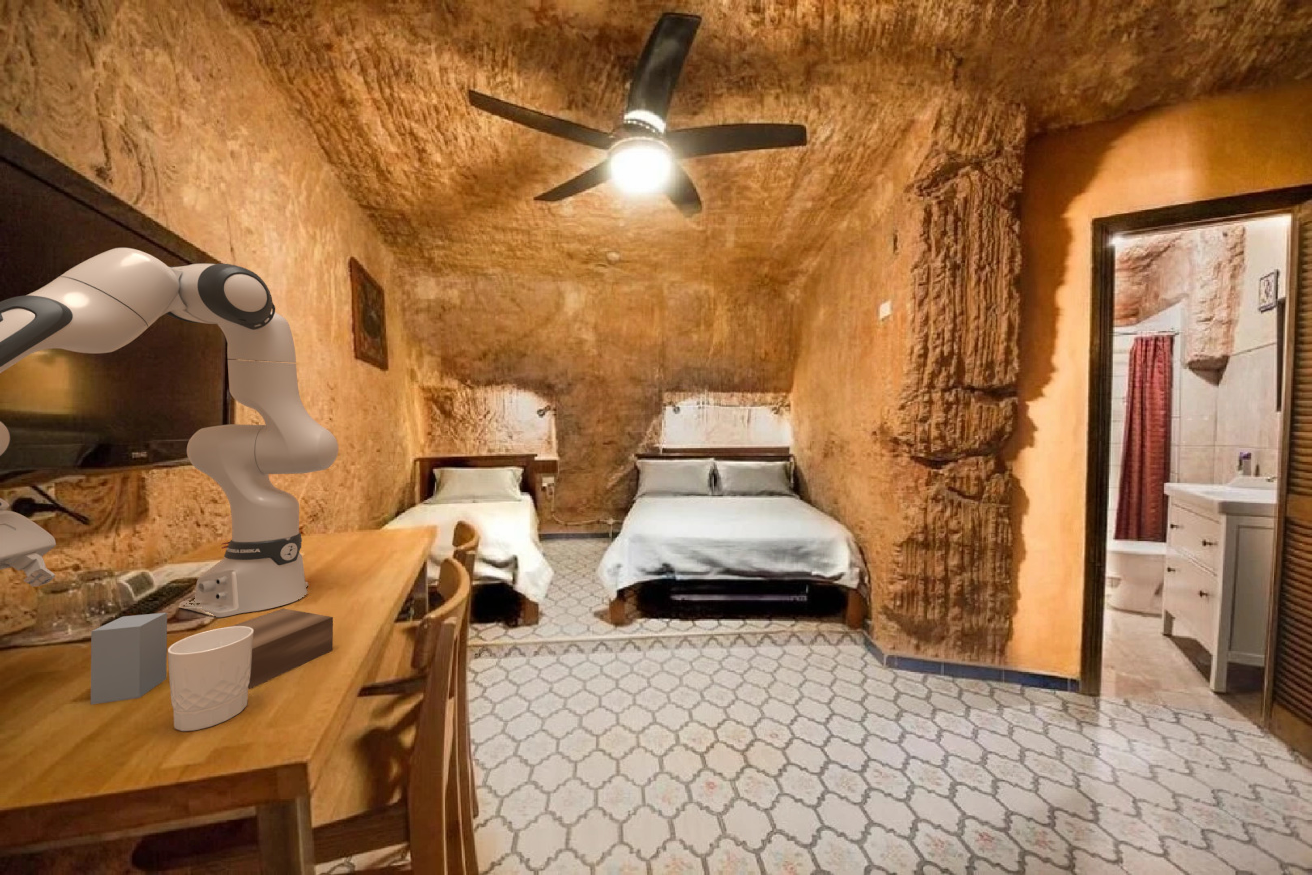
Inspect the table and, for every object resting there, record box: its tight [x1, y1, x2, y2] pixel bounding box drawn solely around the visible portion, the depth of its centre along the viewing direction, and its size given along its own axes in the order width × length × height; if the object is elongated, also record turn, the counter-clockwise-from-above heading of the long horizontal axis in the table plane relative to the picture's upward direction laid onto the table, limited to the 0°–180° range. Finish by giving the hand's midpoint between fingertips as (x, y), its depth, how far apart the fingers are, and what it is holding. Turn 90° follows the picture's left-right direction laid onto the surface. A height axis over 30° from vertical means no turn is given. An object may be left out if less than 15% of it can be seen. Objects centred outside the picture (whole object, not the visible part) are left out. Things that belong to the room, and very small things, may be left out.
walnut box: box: [229, 608, 334, 690], centre depth 70 cm, size 12×12×6 cm
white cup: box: [167, 625, 254, 732], centre depth 57 cm, size 8×8×10 cm
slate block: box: [90, 612, 168, 705], centre depth 62 cm, size 5×5×10 cm
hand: (10, 593), depth 58 cm, fingers open, 8 cm apart
